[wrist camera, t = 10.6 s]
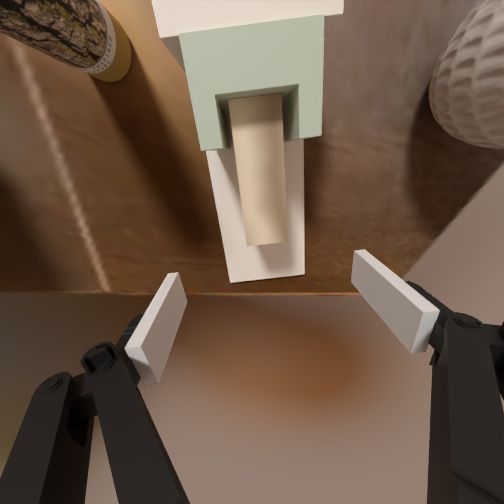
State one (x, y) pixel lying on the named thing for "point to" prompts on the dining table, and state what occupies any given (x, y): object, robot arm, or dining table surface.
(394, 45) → the dining table surface
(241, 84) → the socket block
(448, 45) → the vase
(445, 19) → the dining table surface
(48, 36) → the bark log
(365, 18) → the dining table surface
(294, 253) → the track
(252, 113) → the beige wooden block
